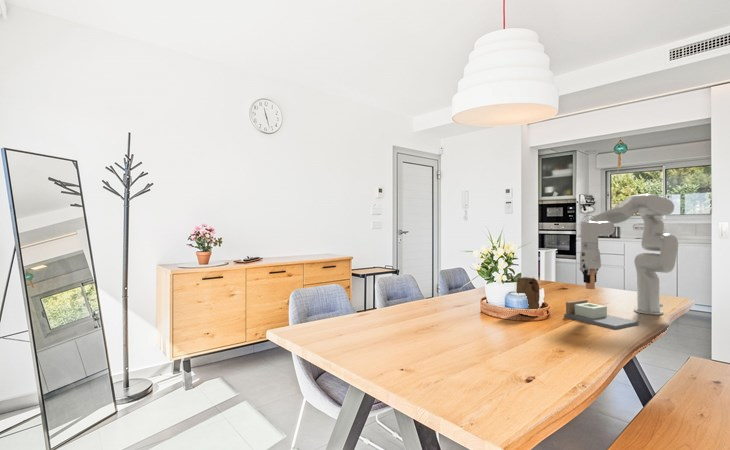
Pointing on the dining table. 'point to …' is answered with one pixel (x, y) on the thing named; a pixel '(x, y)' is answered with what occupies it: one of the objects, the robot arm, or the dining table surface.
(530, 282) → the block
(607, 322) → the stop board
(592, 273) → the orange rectangular post
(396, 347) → the dining table surface
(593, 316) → the socket block
